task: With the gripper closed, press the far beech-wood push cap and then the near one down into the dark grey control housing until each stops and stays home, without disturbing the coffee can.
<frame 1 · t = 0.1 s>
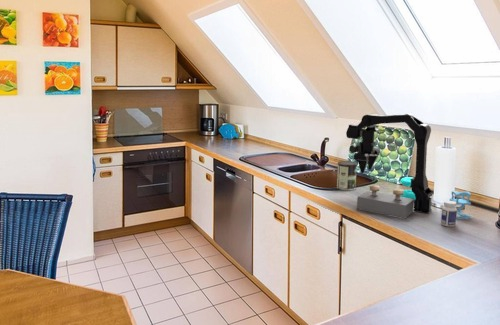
hand: (366, 171, 213), 15 cm above the countertop, tool pointing down, fingers open, 9 cm apart
coffee can: (345, 188, 238), on the countertop
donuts: (409, 198, 220), on the countertop
far cap: (374, 193, 202), point 7 cm above the countertop, slide at 0.0 cm
near cap: (397, 197, 195), point 7 cm above the countertop, slide at 0.0 cm
pill bottle: (447, 225, 182), on the countertop
chair: (458, 216, 193), on the countertop
housing: (384, 210, 200), on the countertop
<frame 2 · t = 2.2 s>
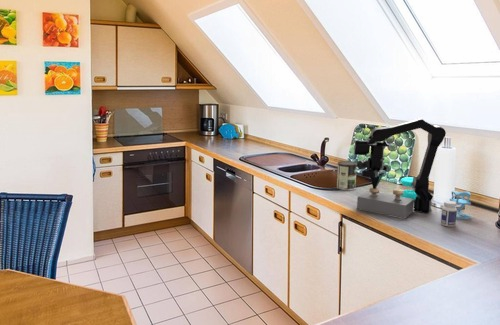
hand: (374, 188, 201), 10 cm above the countertop, tool pointing down, fingers closed, pressing on far cap
far cap: (374, 195, 202), point 6 cm above the countertop, slide at 1.0 cm, touching gripper
everything else where it was.
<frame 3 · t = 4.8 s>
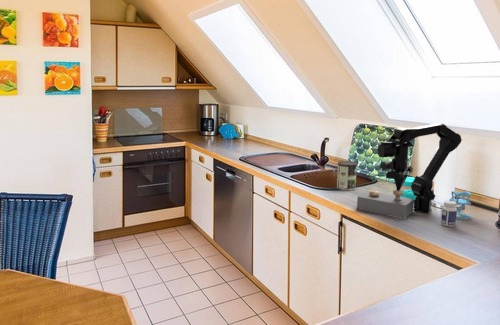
hand: (398, 190, 195), 10 cm above the countertop, tool pointing down, fingers closed, pressing on near cap
far cap: (373, 198, 202), point 5 cm above the countertop, slide at 2.6 cm
near cap: (397, 197, 195), point 7 cm above the countertop, slide at 0.1 cm, touching gripper
everything else where it was.
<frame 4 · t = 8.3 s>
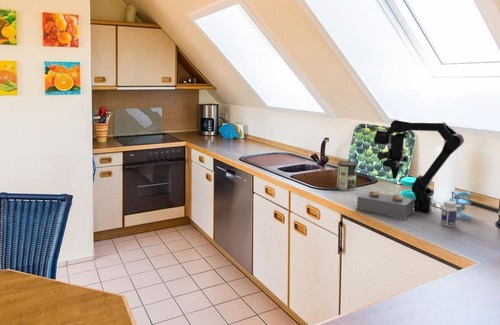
hand: (394, 178, 205), 13 cm above the countertop, tool pointing down, fingers closed
near cap: (397, 202, 196), point 5 cm above the countertop, slide at 2.6 cm
everything else where it was.
at the end: far cap slide at 2.6 cm; near cap slide at 2.6 cm; coffee can moved 0.2 cm from its start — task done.
